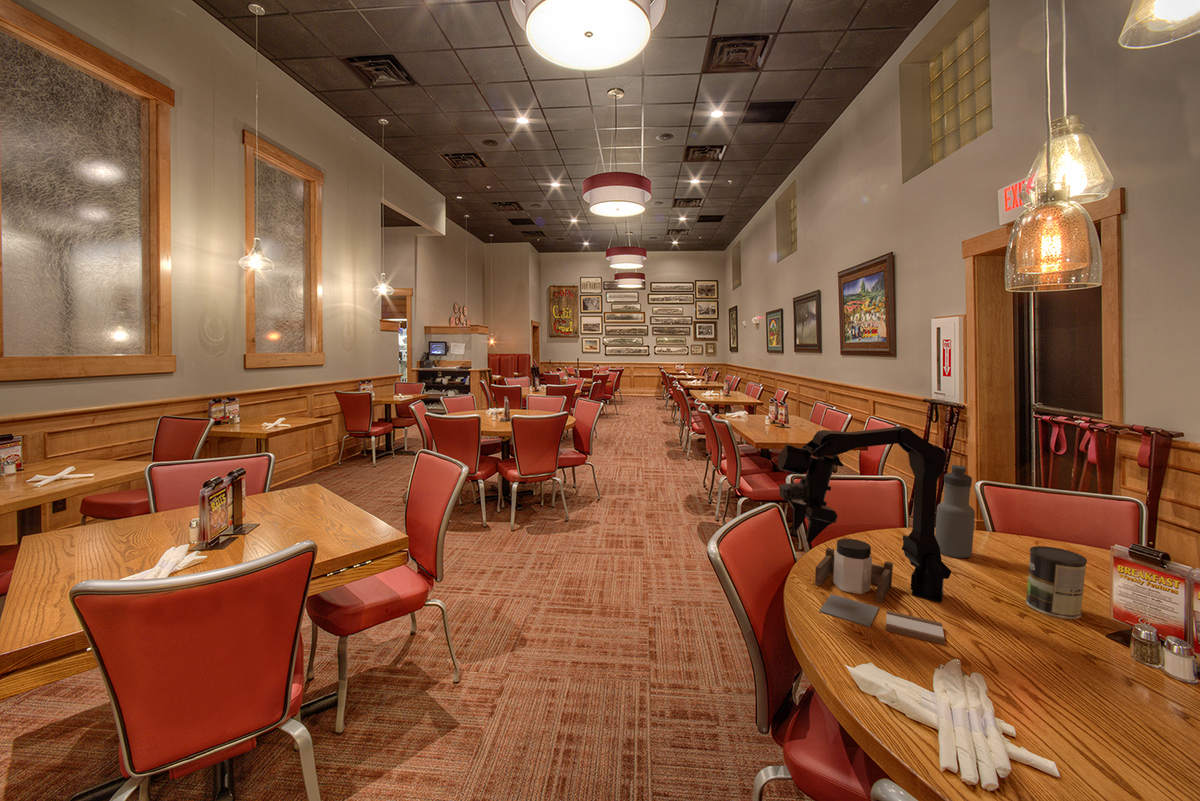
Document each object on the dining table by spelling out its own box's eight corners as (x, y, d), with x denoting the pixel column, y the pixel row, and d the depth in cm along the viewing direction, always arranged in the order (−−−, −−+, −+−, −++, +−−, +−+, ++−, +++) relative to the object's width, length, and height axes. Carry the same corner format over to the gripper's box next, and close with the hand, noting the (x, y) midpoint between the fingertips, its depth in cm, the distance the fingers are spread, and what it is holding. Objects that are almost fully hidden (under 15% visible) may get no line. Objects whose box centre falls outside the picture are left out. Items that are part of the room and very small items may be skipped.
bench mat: (878, 608, 122) (878, 607, 122) (869, 627, 114) (869, 625, 114) (831, 595, 129) (831, 594, 129) (819, 611, 121) (819, 610, 121)
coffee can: (1023, 608, 123) (1027, 553, 122) (1027, 594, 130) (1032, 542, 129) (1081, 624, 116) (1086, 566, 114) (1082, 609, 123) (1087, 554, 122)
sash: (941, 627, 114) (942, 622, 114) (944, 645, 107) (945, 639, 107) (886, 614, 119) (886, 610, 119) (885, 630, 113) (886, 625, 112)
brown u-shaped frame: (891, 585, 135) (892, 562, 134) (882, 603, 125) (884, 579, 124) (826, 569, 145) (827, 547, 145) (813, 584, 135) (814, 561, 135)
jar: (857, 597, 128) (859, 552, 127) (827, 585, 135) (829, 542, 134) (875, 588, 133) (878, 545, 132) (846, 577, 140) (848, 536, 139)
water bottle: (934, 544, 165) (940, 461, 163) (971, 551, 160) (977, 465, 157) (933, 554, 157) (939, 467, 155) (972, 561, 151) (978, 471, 149)
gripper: (775, 463, 138) (761, 516, 139) (800, 480, 119) (783, 541, 121) (814, 472, 138) (799, 526, 139) (845, 490, 119) (828, 552, 121)
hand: (801, 535), depth 130 cm, fingers open, 9 cm apart
